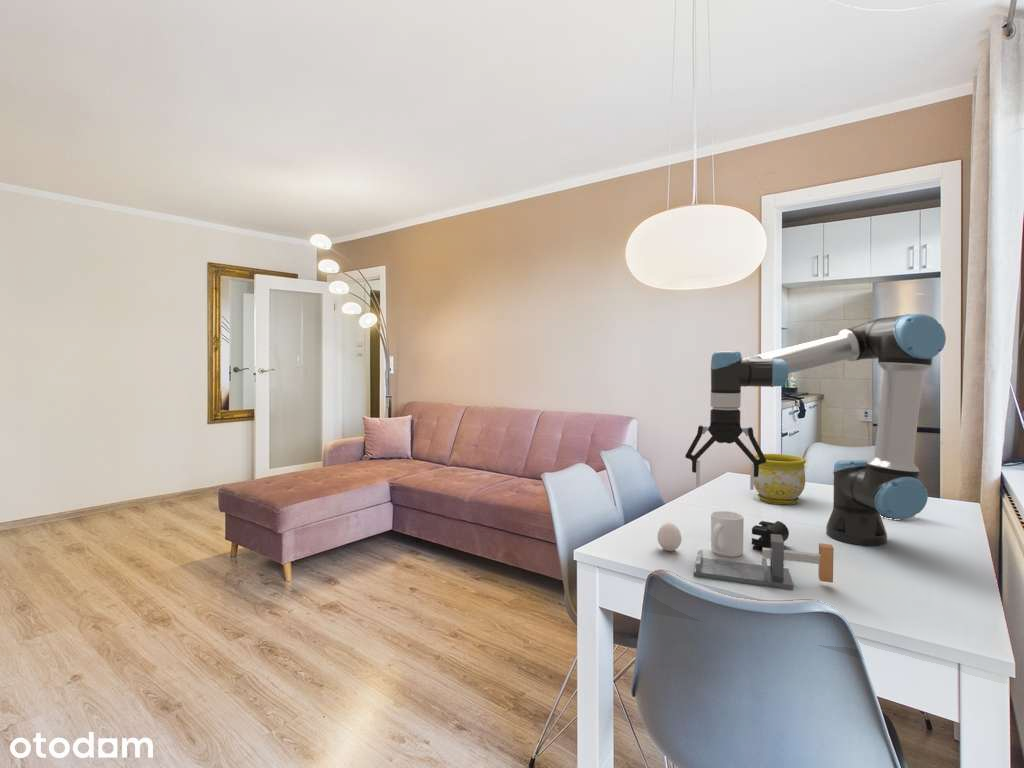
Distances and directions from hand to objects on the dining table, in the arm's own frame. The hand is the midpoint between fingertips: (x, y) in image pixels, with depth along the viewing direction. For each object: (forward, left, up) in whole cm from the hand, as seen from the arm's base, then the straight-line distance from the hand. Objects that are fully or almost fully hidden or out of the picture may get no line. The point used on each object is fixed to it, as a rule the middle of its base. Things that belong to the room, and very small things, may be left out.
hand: (724, 486), depth 144 cm
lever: (-16, +14, -17) cm, 27 cm away
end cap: (-12, -10, -19) cm, 24 cm away
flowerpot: (-18, -68, -19) cm, 73 cm away
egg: (+14, +3, -19) cm, 24 cm away
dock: (-4, +14, -18) cm, 23 cm away
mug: (0, 0, -19) cm, 19 cm away
